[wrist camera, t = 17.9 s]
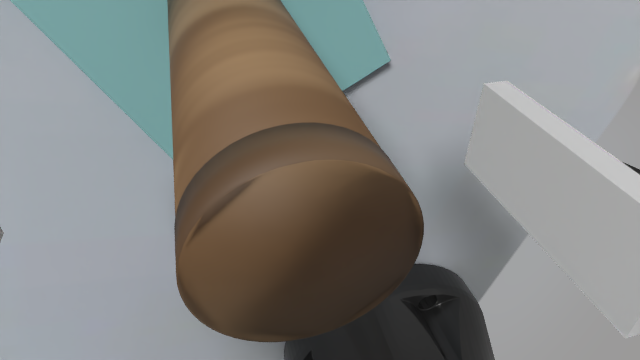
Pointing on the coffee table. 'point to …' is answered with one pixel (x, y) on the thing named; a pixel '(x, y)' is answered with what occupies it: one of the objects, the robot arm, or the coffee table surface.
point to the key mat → (153, 48)
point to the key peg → (276, 180)
